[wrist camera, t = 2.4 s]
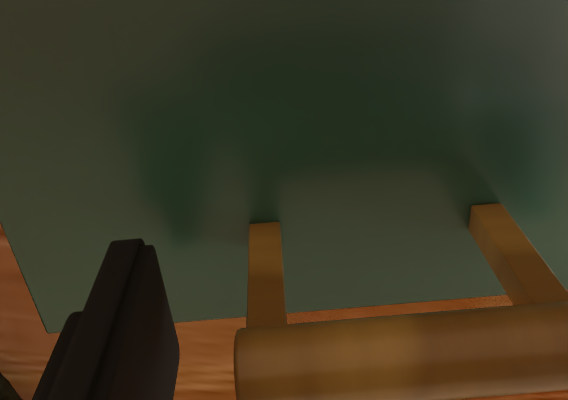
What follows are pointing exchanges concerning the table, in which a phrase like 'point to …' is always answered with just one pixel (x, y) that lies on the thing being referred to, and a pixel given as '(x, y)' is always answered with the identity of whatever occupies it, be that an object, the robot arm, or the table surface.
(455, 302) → the table surface
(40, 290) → the cover
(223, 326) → the table surface
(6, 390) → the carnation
